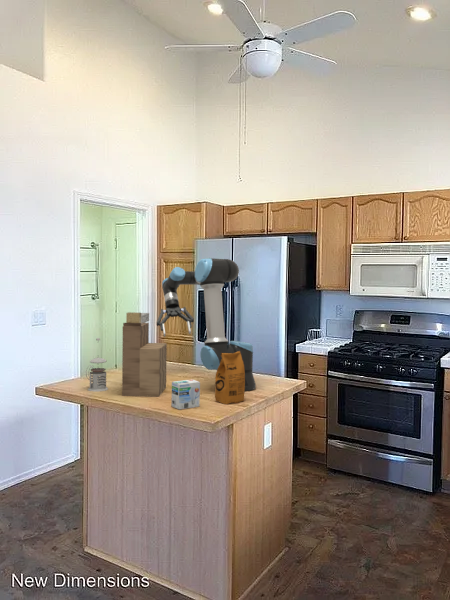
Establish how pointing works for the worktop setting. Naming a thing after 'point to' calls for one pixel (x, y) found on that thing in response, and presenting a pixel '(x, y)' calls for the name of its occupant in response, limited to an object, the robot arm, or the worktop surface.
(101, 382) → the french press
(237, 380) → the coffee package
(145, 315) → the wooden bar
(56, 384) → the worktop surface
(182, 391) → the light bulb box
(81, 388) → the worktop surface
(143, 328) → the stepped stand
